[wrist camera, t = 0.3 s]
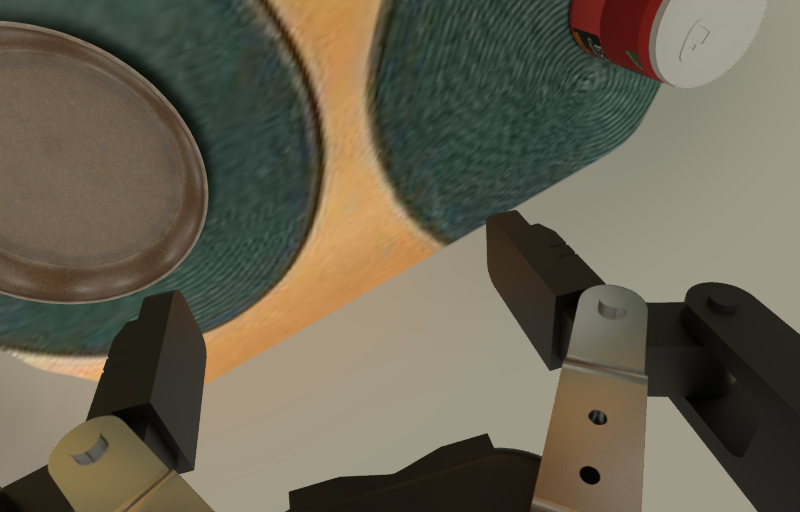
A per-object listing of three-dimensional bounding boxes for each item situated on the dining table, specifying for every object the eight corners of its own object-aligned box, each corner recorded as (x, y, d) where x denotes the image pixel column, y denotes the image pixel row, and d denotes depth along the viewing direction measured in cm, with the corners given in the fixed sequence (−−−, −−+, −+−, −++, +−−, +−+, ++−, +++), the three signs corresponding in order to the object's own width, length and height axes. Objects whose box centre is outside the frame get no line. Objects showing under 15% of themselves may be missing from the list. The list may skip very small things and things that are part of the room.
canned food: (552, 48, 41) (635, 82, 32) (588, -66, 37) (695, -64, 28) (629, 61, 43) (727, 96, 34) (671, -46, 39) (795, -38, 30)
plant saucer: (-43, -67, 29) (-74, -67, 26) (262, 142, 40) (263, 158, 37) (-166, 194, 35) (-202, 216, 32) (130, 316, 45) (122, 340, 42)
